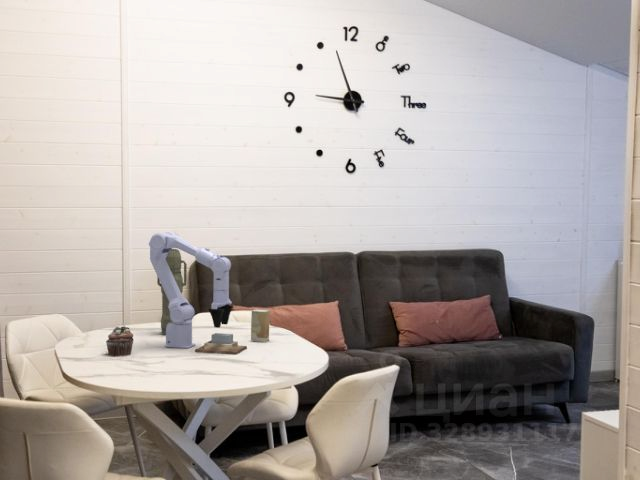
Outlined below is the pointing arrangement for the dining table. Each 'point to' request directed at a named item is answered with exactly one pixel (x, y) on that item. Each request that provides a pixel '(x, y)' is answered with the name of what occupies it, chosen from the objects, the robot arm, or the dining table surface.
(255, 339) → the skincare box
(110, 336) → the cupcake
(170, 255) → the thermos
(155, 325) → the dining table surface
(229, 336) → the key block
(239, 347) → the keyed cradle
